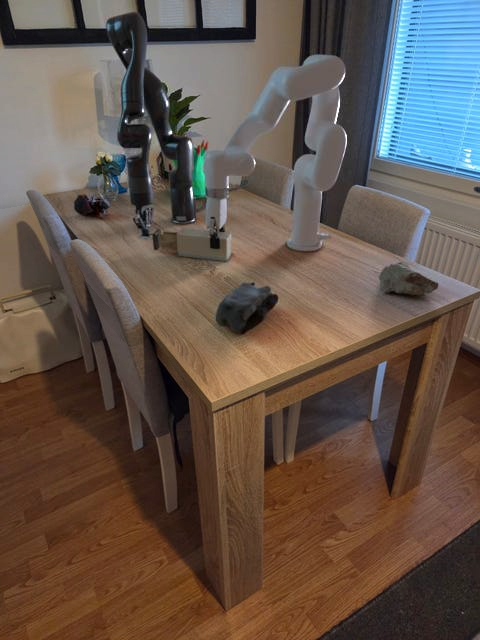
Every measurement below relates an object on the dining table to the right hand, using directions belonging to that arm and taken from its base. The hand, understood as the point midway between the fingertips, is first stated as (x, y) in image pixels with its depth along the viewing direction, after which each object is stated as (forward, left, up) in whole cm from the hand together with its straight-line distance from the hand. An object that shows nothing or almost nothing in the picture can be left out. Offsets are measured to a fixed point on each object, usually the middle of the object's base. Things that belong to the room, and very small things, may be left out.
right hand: (217, 244), depth 151 cm
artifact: (-49, +37, -5) cm, 61 cm away
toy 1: (+43, -55, -5) cm, 70 cm away
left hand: (+23, -12, 0) cm, 26 cm away
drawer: (+15, -8, -3) cm, 18 cm away
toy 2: (-3, -76, -5) cm, 76 cm away
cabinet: (+4, -2, -4) cm, 7 cm away
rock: (+1, +43, -5) cm, 43 cm away
